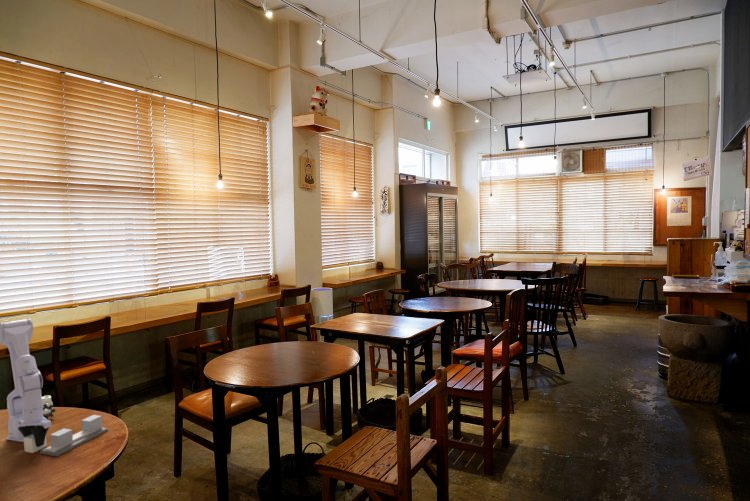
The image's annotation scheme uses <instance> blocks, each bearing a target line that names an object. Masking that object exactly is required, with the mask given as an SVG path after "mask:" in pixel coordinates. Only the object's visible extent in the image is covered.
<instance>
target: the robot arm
mask: <svg viewBox="0 0 750 501" xmlns="http://www.w3.org/2000/svg"><path fill="white" fill-rule="evenodd" d="M33 334H34V324H33V320H32V319H31V318H26V319H19V320H18V319H17V320H13V321H12V320H11V321H5V322H0V344H1V346H5V347H7V349H8V352H9V358H10V362H11V363H10V364H11V369H12V378H13V383H14V389H13V390H12V391H11V392H9V394H8V395H7V397H6V402H7V403H6V404H7V405H6V408H7V413H8V416H9V417H8V419H7V427H8V437H6V440H9V441H14V442H15V441H16V442H21V443H24V437H26V436H29V435H31V434H33V436H34V438H35V443H36V446H37V447H40V446H42V445H44V441H45V436H46V437H47V433H48V432H49V431H48V430H49V429H50V427H52V421H51V420H49V419H48V420H47V419H46V418H45V417H43V416H44V414H43V407H42V397H43V396H42V388H44V387H43V385H44V380H43V376H42V373H41V371H40V370H39V369H38V365H37V362H36V358H35V356H33V355H31V354H30V347H29V341H31V340H32V337H33Z"/></svg>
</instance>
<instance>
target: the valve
mask: <svg viewBox="0 0 750 501" xmlns="http://www.w3.org/2000/svg"><path fill="white" fill-rule="evenodd" d="M42 407H43V417H45V418H46V419H47V420H49V418H54V413H55V412H56V410H57V409H56V408H53V407H54V404H53V401H52V396H51V395H44V396H42Z"/></svg>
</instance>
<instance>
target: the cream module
mask: <svg viewBox="0 0 750 501" xmlns="http://www.w3.org/2000/svg"><path fill="white" fill-rule="evenodd" d="M47 443H48V441H47V435H46V436H45V441H44V445H42V446H40V447H37V446H36V443H35V438H34V436H33V434H31V435H29V436H26V437H24V442H23V447H24V452H26V453H31V454H33V453H35V452H39V451H40V450H42V449H45V448H47V447H48V444H47Z"/></svg>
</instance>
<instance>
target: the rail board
mask: <svg viewBox="0 0 750 501" xmlns="http://www.w3.org/2000/svg"><path fill="white" fill-rule="evenodd" d="M81 428H82V430H80V431H78V432H76V433H73V429H70V428H62V429H60V430H57V431H55V432H53V433H51V434H49V436H50V445H49V446H46V447H44V448H42V449H40V450H39V451H40V452H39V453H40V454H42V455H47V456H53V457H58V456H61V455H62V454H65V453H67V452H69V451H71V450H73V449H75V448H77V447H79V446H80V445H82V444H84V443H86V442H89V441H90V440H92V439H94V438H96V437H98V436H100V435H102V434H104V433H105V432H108V427H104V426H103V420H102V415H97V414H93V415H90V416H88V417H85V418H83V419H81Z"/></svg>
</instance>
